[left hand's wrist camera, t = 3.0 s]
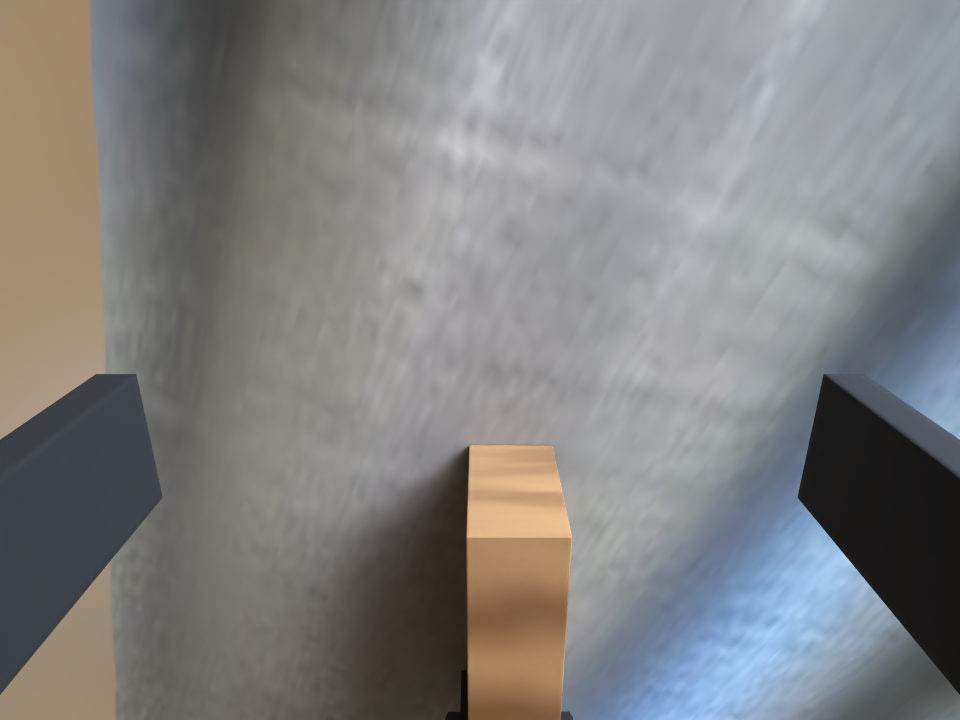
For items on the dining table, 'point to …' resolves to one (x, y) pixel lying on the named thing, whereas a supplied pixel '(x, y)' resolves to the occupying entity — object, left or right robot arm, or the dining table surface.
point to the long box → (516, 583)
